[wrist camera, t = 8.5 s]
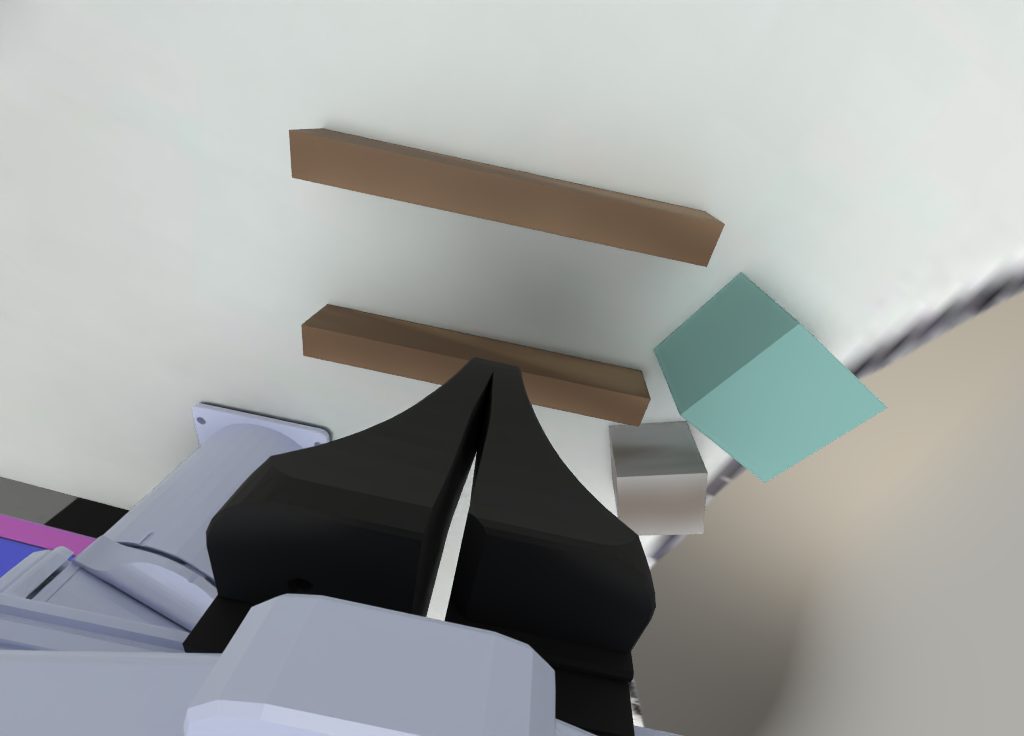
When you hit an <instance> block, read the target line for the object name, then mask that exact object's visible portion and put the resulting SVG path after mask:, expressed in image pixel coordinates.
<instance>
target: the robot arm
mask: <svg viewBox="0 0 1024 736" xmlns="http://www.w3.org/2000/svg"><path fill="white" fill-rule="evenodd" d="M192 414H193V419H194V423H195V427H196V432H197V436H198V440H199V445H200V447H199V448H198V449H197V450H196V451H195V452H194V453H193V454H192V455H191V456H189V457H188V458H187V459H186V460H185V461H184V462H183V463H182V464H181V465H180V466H178V467H177V468H176V469H175V470H174V471H173V472H172V473H171V474H170V475H169V476H167V477H166V478H165V479H164V480H163V481H162V482H161V483H160V484H159V485H158V486H156V487H155V488H154V489H153V490H152V491H151V492H150V493H149V494H148V495H147V496H145V497H144V498H143V499H142V500H141V501H140V502H139V503H138V504H137V505H136V506H134V507H133V508H132V509H131V510H130V511H129V512H128V513H127V514H126V515H124V516H123V517H122V518H121V519H120V520H119V521H118V522H117V523H116V524H115V525H113V526H112V527H111V528H110V529H109V530H108V531H107V532H106V533H105V534H104V535H102V536H100V537H98V538H97V539H96V540H95V541H94V542H93V543H91V544H90V545H89V546H88V547H87V548H85V549H84V550H83V551H82V552H81V553H79V554H78V555H77V556H76V557H75V558H73V559H72V560H71V561H68V560H67V559H68V558H69V557H70V556H72V555H73V554H74V552H72V551H71V550H69V549H67V548H66V547H63V546H60V547H57V548H55V549H54V550H43V551H37V552H33V553H32V554H30V555H29V556H28V557H26V558H25V559H24V560H22V561H21V562H20V563H18V564H17V565H16V566H15V567H13V568H12V569H11V570H10V571H8V572H7V573H6V574H5V575H3V576H2V577H1V578H0V736H681V735H677V734H672V733H668V732H663V731H658V730H653V729H648V728H644V727H639V726H634V725H633V717H632V709H631V701H630V692H629V684H628V682H631V681H632V679H633V674H634V671H633V664H632V656H631V650H632V649H633V647H634V646H635V644H636V643H637V641H638V639H639V638H640V636H641V634H642V633H643V631H644V630H645V628H646V627H647V625H648V624H649V622H650V620H651V618H652V616H653V613H654V610H655V608H656V603H655V591H654V587H653V582H652V577H651V572H650V569H649V566H648V563H647V559H646V556H645V553H644V551H643V548H642V545H641V542H640V539H639V536H638V534H636V533H635V532H634V531H633V530H632V529H630V528H629V527H628V526H627V525H626V524H624V523H623V522H622V521H621V520H619V519H618V518H617V517H616V516H615V515H613V514H612V513H611V512H610V511H609V510H607V509H606V508H605V507H604V506H603V505H602V504H601V503H600V502H599V501H598V500H597V499H596V498H595V497H594V496H593V495H592V494H591V493H590V492H589V491H588V490H587V489H586V488H585V487H584V486H583V485H582V484H581V483H580V482H579V481H578V479H577V478H576V477H575V476H574V475H573V473H572V472H571V471H570V470H569V469H568V467H567V466H566V465H565V464H564V462H563V461H562V460H561V458H560V457H559V456H558V454H557V452H556V451H555V449H554V448H553V446H552V445H551V443H550V442H549V440H548V438H547V436H546V435H545V433H544V431H543V429H542V427H541V425H540V423H539V421H538V419H537V417H536V415H535V413H534V410H533V408H532V405H531V403H530V401H529V398H528V395H527V392H526V389H525V386H524V383H523V379H522V374H521V370H520V368H519V367H518V366H514V365H509V364H504V363H500V362H495V361H491V360H486V359H482V358H477V357H473V358H472V359H470V360H469V361H468V362H467V363H466V364H465V365H464V366H463V367H462V368H461V369H460V370H459V371H458V372H457V373H456V374H455V375H454V376H453V377H452V378H450V379H449V380H448V381H447V382H445V383H444V384H443V385H442V386H441V387H439V388H438V389H437V390H436V391H434V392H433V393H431V394H430V395H428V396H427V397H426V398H424V399H423V400H421V401H420V402H418V403H417V404H415V405H414V406H412V407H411V408H409V409H407V410H406V411H404V412H402V413H400V414H398V415H397V416H395V417H393V418H391V419H389V420H387V421H384V422H382V423H380V424H377V425H375V426H373V427H370V428H368V429H366V430H363V431H361V432H358V433H355V434H353V435H350V436H347V437H344V438H341V439H337V440H334V441H331V442H330V439H329V434H328V433H327V432H326V431H325V430H323V429H320V428H315V427H311V426H306V425H301V424H296V423H292V422H287V421H282V420H278V419H273V418H268V417H263V416H259V415H254V414H249V413H244V412H240V411H235V410H230V409H225V408H221V407H216V406H211V405H206V404H197V405H196V406H194V407H193V408H192ZM318 442H320V443H321V444H320V443H318ZM476 452H477V453H476ZM475 454H476V461H475V469H474V477H473V484H472V492H471V500H470V507H469V511H468V516H467V520H466V525H465V530H464V534H463V539H462V544H461V548H460V553H459V558H458V562H457V567H456V572H455V576H454V581H453V586H452V590H451V595H450V600H449V604H448V608H447V613H446V617H445V621H441V620H436V619H432V618H427V617H426V615H427V611H428V608H429V604H430V600H431V596H432V592H433V588H434V584H435V580H436V576H437V572H438V568H439V564H440V561H441V557H442V553H443V549H444V545H445V541H446V537H447V534H448V530H449V527H450V524H451V521H452V517H453V515H454V512H455V509H456V506H457V504H458V501H459V498H460V495H461V493H462V490H463V487H464V485H465V482H466V479H467V476H468V474H469V471H470V468H471V465H472V463H473V460H474V457H475Z"/></svg>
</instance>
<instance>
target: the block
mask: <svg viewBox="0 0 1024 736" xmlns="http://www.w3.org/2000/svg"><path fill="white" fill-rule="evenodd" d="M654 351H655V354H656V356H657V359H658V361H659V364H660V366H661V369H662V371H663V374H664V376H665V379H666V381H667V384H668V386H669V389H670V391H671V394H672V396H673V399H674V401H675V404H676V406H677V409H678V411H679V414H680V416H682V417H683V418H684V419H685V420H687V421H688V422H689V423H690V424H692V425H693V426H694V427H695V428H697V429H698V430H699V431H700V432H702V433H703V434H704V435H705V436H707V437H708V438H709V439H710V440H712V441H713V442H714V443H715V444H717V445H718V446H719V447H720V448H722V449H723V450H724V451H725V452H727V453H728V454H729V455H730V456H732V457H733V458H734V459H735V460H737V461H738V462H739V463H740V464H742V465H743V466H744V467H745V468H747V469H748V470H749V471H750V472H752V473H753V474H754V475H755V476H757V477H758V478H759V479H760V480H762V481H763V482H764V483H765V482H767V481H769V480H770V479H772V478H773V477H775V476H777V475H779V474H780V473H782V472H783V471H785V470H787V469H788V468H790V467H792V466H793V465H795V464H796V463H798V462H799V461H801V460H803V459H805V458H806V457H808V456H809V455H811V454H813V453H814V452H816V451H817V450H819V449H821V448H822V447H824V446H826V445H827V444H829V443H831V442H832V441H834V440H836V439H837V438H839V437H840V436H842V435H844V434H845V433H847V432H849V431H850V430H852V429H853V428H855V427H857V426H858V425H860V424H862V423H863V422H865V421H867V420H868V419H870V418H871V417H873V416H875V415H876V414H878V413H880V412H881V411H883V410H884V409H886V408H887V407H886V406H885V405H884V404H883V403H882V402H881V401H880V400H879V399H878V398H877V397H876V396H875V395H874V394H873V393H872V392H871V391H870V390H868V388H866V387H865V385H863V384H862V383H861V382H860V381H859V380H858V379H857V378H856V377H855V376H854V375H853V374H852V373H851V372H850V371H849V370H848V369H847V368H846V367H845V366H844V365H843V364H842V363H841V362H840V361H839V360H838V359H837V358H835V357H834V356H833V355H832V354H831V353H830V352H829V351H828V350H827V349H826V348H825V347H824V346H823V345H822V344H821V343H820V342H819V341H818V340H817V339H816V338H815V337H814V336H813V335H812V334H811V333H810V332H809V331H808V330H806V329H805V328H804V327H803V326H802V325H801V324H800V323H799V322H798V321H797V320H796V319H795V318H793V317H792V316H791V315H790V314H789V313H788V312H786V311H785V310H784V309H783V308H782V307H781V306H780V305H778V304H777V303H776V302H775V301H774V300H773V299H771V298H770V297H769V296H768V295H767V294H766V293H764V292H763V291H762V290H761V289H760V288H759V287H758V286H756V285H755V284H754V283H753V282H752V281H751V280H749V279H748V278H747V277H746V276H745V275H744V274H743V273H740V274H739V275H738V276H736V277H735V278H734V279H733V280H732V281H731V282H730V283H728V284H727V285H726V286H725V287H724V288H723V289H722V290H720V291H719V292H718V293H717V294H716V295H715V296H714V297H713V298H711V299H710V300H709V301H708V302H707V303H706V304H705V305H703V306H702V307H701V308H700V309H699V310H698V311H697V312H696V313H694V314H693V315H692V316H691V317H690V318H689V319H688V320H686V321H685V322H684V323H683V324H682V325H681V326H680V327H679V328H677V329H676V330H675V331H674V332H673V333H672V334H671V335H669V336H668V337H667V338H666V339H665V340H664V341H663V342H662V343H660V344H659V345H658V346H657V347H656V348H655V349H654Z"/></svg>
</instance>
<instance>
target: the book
mask: <svg viewBox="0 0 1024 736" xmlns="http://www.w3.org/2000/svg"><path fill="white" fill-rule="evenodd" d="M128 512H129V510H125V509H121V508H117V507H113V506H110V505H106V504H102V503H98V502H94V501H91V500H87V499H83V498H79V497H75V496H71V495H68V494H64V493H60V492H56V491H52V490H49V489H45V488H41V487H37V486H33V485H30V484H26V483H22V482H18V481H14V480H10V479H7V478H3V477H0V578H1V577H2V576H3V575H5V574H6V573H7V572H8V571H10V570H11V569H12V568H13V567H15V566H16V565H17V564H18V563H20V562H21V561H22V560H24V559H25V558H26V557H28V556H29V555H30V554H32V553H33V552H37V551H43V550H54V549H55V548H57V547H60V546H63V547H66V548H67V549H69V550H71V551H72V552H74V554H73V555H72V556H70V557H69V558H68V559H67V560H68V561H71V560H72V559H73V558H75V557H76V556H77V555H78V554H79V553H81V552H82V551H83V550H84V549H85V548H87V547H88V546H89V545H90V544H91V543H93V542H94V541H95V540H96V539H97V538H98V537H100V536H102V535H104V534H105V533H106V532H107V531H108V530H109V529H110V528H111V527H112V526H113V525H115V524H116V523H117V522H118V521H119V520H120V519H121V518H122V517H123V516H124V515H126V514H127V513H128Z"/></svg>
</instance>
